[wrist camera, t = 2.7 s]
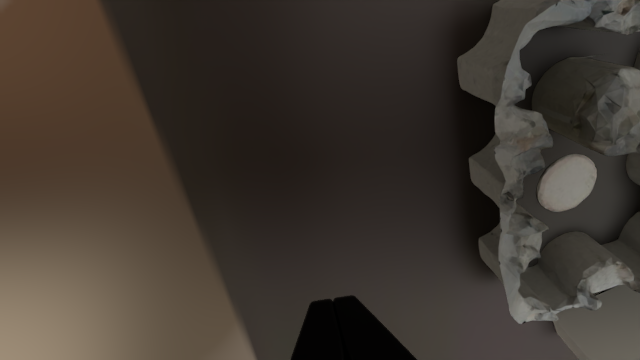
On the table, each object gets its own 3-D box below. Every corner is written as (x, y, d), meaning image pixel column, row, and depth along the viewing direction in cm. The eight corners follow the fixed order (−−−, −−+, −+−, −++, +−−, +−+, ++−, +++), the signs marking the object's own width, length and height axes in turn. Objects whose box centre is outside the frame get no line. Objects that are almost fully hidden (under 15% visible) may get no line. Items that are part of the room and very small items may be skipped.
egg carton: (639, 236, 16) (748, 308, 13) (461, 282, 16) (519, 369, 13) (694, -64, 12) (895, -87, 8) (441, -2, 11) (526, 5, 8)
